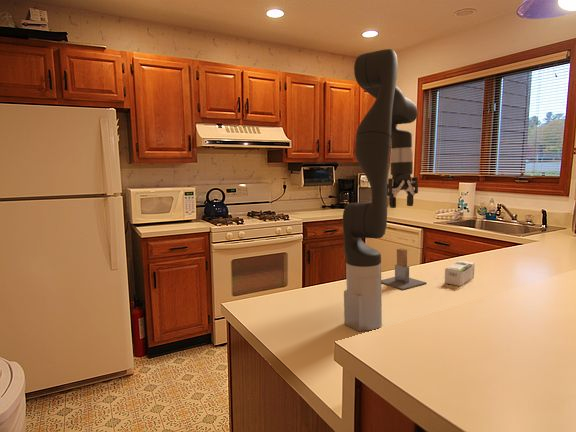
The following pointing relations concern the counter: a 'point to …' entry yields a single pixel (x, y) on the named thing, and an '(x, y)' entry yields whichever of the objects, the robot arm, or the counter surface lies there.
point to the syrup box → (459, 273)
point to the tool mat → (403, 286)
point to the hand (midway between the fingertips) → (401, 206)
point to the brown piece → (402, 267)
